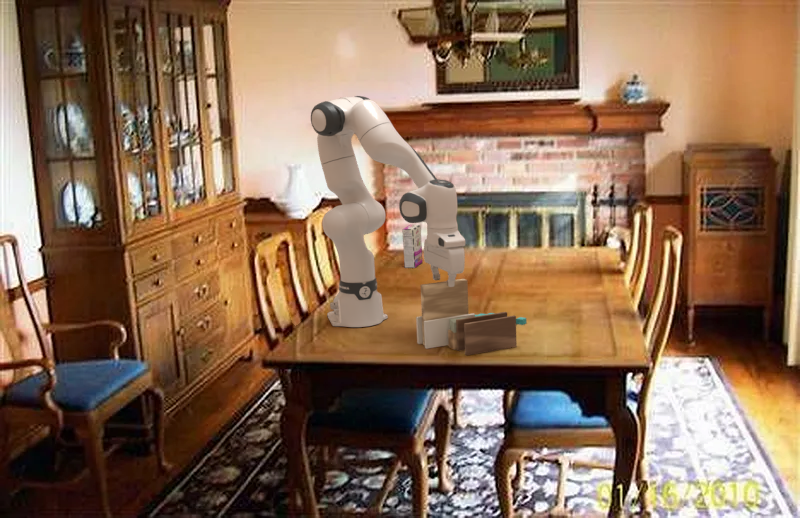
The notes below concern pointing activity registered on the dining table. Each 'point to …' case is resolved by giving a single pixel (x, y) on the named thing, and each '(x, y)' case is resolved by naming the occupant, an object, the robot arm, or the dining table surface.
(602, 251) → the dining table surface
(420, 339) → the holder
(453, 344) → the offcut
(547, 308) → the dining table surface
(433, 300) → the sheet
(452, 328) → the offcut
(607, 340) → the dining table surface
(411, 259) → the candy bar box
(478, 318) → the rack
